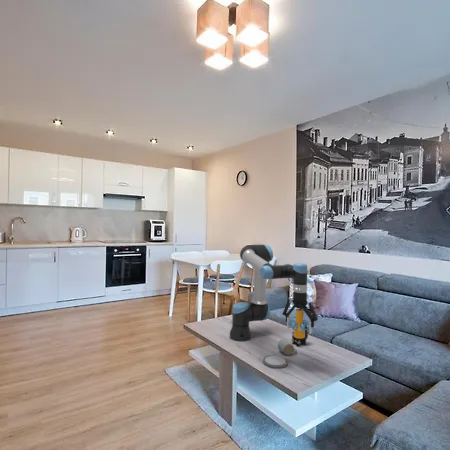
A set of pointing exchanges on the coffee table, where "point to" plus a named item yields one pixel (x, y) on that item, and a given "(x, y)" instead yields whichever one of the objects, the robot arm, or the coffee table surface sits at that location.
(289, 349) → the ceramic mug
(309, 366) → the coffee table surface
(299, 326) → the cylinder
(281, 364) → the plate
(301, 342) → the scope
